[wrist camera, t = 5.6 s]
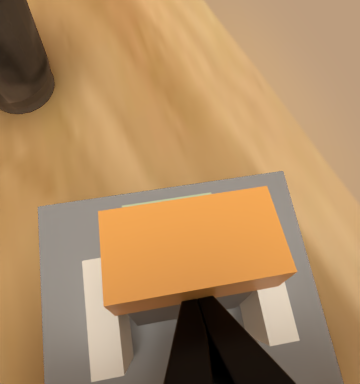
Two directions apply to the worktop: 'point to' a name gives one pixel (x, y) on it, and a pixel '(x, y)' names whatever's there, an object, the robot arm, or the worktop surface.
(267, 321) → the breaker base
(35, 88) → the beverage cup
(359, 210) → the worktop surface
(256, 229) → the lever
